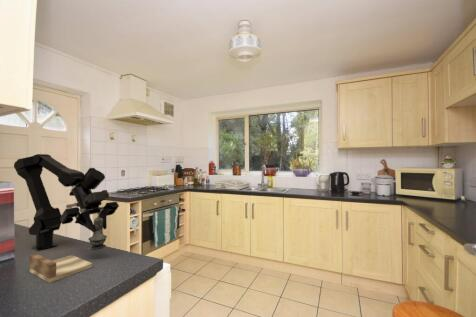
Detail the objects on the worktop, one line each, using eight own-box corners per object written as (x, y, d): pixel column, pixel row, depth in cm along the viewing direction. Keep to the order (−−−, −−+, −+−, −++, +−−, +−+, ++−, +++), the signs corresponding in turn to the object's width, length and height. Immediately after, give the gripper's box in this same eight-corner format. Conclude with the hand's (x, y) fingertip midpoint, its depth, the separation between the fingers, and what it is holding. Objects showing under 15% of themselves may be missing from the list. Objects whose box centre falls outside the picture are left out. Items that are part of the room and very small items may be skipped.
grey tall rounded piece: (86, 251, 80) (87, 217, 81) (90, 245, 86) (91, 213, 86) (105, 249, 83) (106, 216, 83) (107, 243, 88) (108, 212, 88)
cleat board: (29, 271, 73) (29, 255, 73) (71, 258, 84) (71, 244, 84) (49, 283, 66) (49, 265, 67) (92, 266, 77) (92, 251, 77)
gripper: (65, 185, 79) (81, 222, 73) (116, 182, 95) (133, 211, 89) (53, 206, 82) (68, 242, 77) (105, 199, 99) (120, 228, 93)
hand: (100, 230), depth 84 cm, fingers closed on grey tall rounded piece, 4 cm apart
